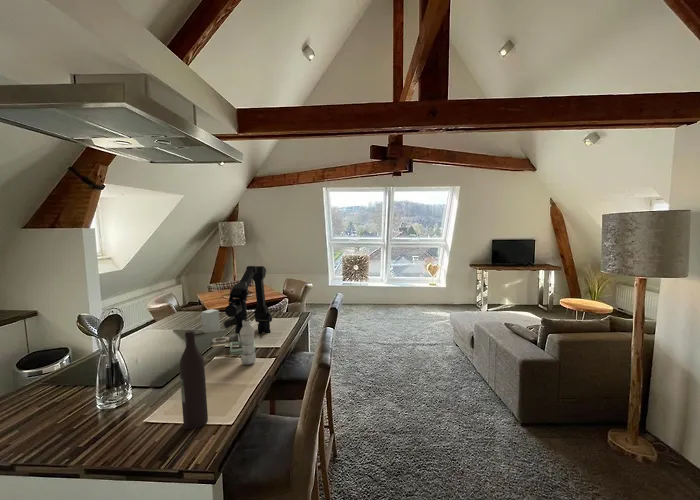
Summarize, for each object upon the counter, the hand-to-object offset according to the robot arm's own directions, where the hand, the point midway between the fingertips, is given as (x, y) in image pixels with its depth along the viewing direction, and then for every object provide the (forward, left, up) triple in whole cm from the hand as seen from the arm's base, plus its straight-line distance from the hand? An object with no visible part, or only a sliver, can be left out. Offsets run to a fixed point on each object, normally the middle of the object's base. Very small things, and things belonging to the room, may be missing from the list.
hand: (242, 341), depth 172 cm
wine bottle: (+16, +63, -4) cm, 65 cm away
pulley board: (+6, -13, -4) cm, 15 cm away
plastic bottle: (-2, +20, -4) cm, 21 cm away
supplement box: (+17, -40, -4) cm, 44 cm away
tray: (0, 0, -4) cm, 4 cm away
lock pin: (0, 0, -2) cm, 2 cm away
